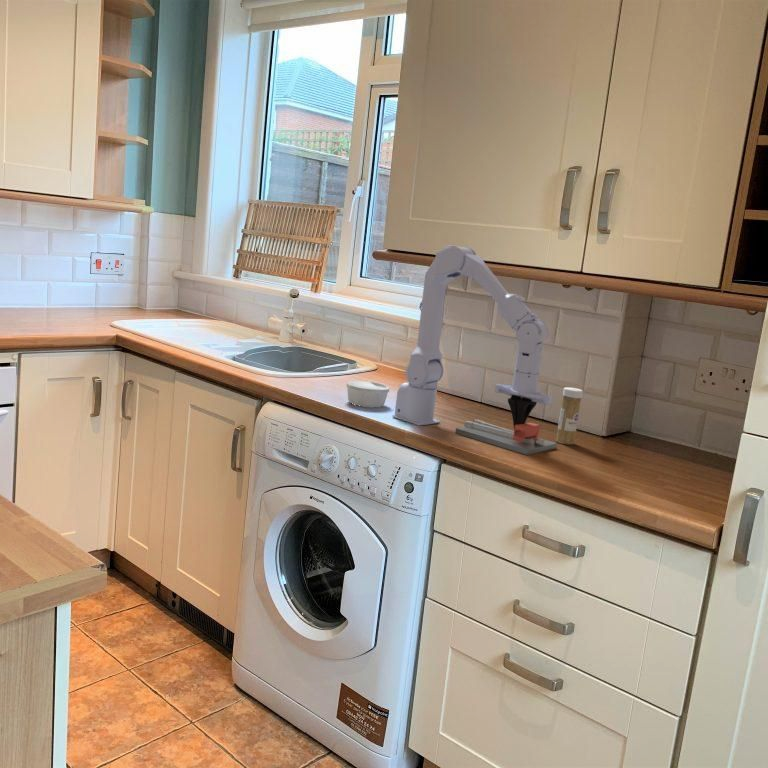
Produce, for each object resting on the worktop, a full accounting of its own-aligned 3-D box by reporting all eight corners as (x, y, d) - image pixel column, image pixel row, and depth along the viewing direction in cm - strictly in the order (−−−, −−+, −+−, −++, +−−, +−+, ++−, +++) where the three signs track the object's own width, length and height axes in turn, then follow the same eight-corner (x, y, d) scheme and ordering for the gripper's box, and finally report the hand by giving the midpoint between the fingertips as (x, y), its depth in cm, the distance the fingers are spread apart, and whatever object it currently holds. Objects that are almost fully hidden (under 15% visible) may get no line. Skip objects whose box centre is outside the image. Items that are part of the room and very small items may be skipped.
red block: (512, 439, 186) (514, 425, 185) (528, 436, 191) (530, 422, 190) (521, 442, 184) (523, 427, 184) (537, 439, 189) (539, 424, 189)
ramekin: (395, 406, 215) (397, 387, 214) (369, 411, 206) (372, 391, 206) (362, 398, 222) (364, 379, 221) (336, 401, 213) (338, 382, 212)
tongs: (463, 426, 196) (464, 420, 196) (476, 424, 200) (477, 418, 200) (536, 447, 183) (537, 441, 182) (548, 445, 186) (549, 439, 186)
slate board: (455, 433, 193) (455, 428, 193) (486, 427, 203) (487, 423, 202) (526, 455, 180) (527, 449, 180) (556, 448, 190) (556, 443, 189)
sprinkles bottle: (571, 446, 193) (580, 391, 191) (552, 442, 196) (561, 387, 193) (576, 443, 197) (585, 389, 195) (558, 439, 200) (567, 385, 197)
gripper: (491, 366, 188) (483, 423, 190) (544, 379, 179) (535, 438, 181) (507, 365, 193) (499, 420, 196) (561, 377, 184) (551, 435, 186)
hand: (518, 428), depth 189 cm, fingers closed
